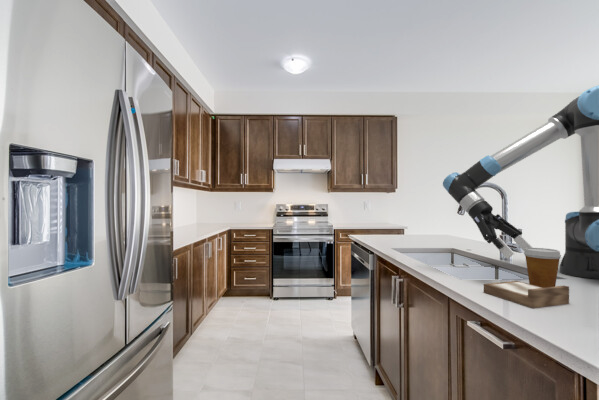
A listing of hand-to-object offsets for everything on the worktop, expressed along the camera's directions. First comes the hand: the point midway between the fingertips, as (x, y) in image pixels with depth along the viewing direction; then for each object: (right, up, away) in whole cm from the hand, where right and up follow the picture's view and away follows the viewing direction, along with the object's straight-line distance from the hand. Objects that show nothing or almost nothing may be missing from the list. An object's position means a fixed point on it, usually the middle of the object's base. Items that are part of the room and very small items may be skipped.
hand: (521, 254), depth 107 cm
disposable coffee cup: (+4, -10, -4) cm, 11 cm away
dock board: (-9, -10, -14) cm, 20 cm away
